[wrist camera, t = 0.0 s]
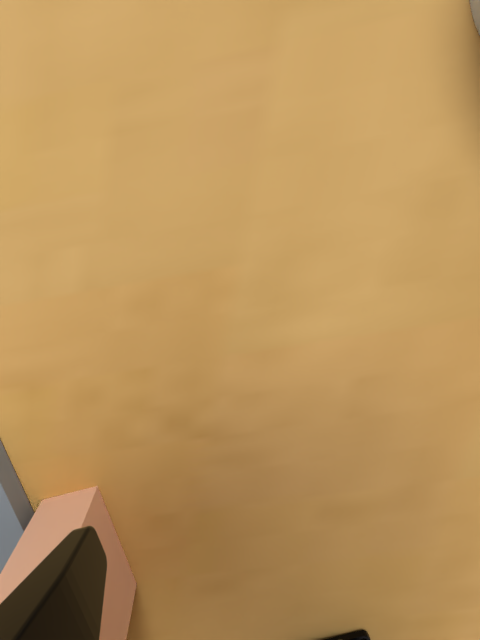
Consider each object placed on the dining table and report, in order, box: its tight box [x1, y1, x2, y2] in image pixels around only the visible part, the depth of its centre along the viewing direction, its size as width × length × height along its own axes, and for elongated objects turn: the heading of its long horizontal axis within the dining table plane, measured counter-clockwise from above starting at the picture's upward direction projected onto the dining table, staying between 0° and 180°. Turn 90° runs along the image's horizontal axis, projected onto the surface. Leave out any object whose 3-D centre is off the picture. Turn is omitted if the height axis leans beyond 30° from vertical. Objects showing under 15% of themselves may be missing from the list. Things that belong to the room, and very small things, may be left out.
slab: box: [0, 486, 137, 640], centre depth 21 cm, size 8×4×10 cm, turn 13°
